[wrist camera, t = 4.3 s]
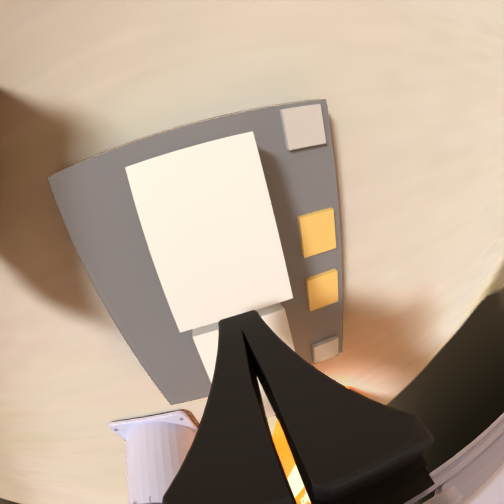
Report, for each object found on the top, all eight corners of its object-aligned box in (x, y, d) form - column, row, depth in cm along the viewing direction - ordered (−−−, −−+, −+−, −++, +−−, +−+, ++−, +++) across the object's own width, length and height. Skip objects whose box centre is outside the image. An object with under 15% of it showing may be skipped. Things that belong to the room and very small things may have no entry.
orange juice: (349, 385, 27) (437, 535, 10) (328, 426, 31) (392, 550, 14) (279, 402, 26) (357, 581, 8) (269, 440, 29) (324, 581, 12)
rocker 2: (299, 390, 18) (307, 403, 17) (228, 412, 18) (231, 427, 16) (276, 299, 17) (284, 308, 15) (192, 324, 16) (192, 336, 15)
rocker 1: (282, 285, 14) (293, 297, 12) (181, 316, 13) (180, 332, 12) (245, 137, 12) (252, 131, 11) (133, 169, 11) (125, 167, 10)
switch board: (333, 338, 23) (348, 361, 20) (169, 389, 21) (172, 417, 19) (312, 99, 14) (338, 99, 12) (58, 171, 12) (37, 183, 10)
